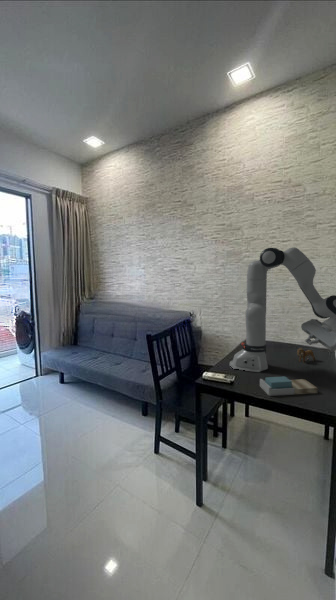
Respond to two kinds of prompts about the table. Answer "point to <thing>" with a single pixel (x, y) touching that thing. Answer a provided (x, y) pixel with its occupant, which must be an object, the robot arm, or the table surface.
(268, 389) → the box
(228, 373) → the table surface
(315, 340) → the robot arm
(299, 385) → the birch plate
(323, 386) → the table surface
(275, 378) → the teal block
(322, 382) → the table surface
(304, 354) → the lion figurine
